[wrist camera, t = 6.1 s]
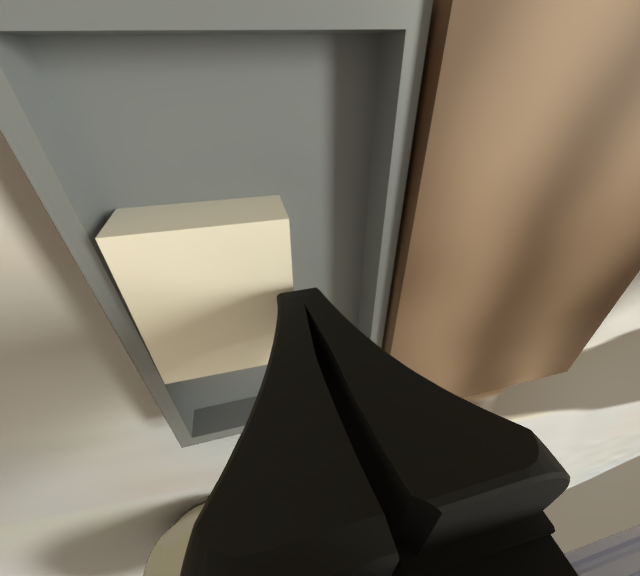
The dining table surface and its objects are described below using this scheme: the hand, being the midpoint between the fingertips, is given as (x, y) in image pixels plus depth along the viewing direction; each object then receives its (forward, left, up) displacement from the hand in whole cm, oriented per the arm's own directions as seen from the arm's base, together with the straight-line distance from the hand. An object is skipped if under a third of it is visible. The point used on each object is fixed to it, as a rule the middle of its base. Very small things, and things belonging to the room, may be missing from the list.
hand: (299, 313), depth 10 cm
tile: (+3, 0, 0) cm, 3 cm away
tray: (+1, 0, -3) cm, 3 cm away
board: (-10, 0, -3) cm, 11 cm away
